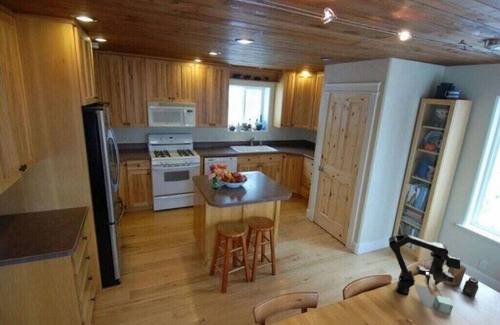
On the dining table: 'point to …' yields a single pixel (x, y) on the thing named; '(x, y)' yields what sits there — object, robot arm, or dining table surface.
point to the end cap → (443, 304)
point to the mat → (426, 296)
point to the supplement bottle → (470, 287)
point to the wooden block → (456, 276)
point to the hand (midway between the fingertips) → (431, 285)
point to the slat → (432, 287)
